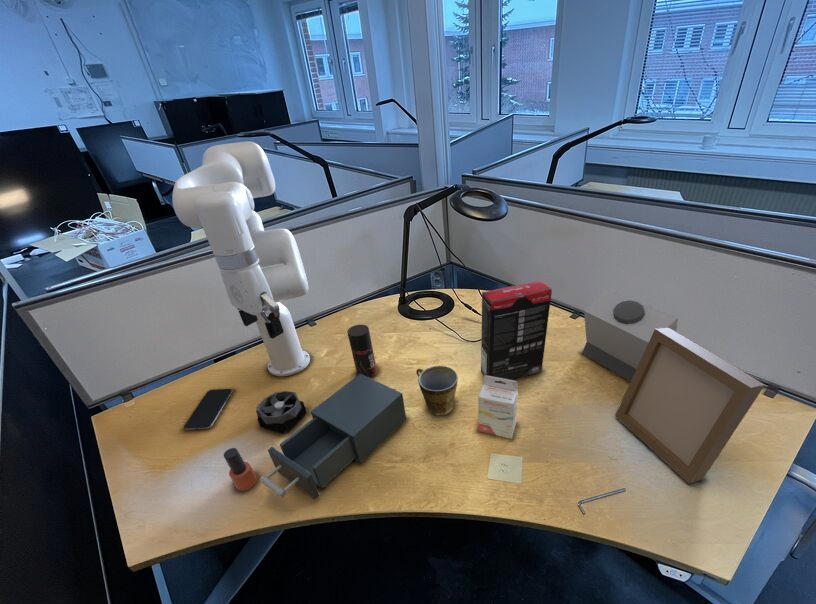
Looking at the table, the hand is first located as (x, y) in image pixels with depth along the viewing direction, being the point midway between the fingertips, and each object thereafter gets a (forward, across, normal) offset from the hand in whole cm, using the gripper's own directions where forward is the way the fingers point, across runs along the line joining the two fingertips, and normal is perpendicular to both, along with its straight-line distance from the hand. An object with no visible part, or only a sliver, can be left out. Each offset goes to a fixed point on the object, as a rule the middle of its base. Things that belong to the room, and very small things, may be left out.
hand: (263, 329), depth 92 cm
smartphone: (+28, -24, -11) cm, 39 cm away
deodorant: (+28, +2, +24) cm, 37 cm away
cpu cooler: (+28, -3, -2) cm, 29 cm away
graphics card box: (+28, +39, +46) cm, 67 cm away
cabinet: (+28, +18, +7) cm, 34 cm away
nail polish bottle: (+28, +6, -19) cm, 35 cm away
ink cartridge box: (+28, +46, +25) cm, 60 cm away
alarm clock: (+28, +64, +67) cm, 97 cm away
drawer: (+27, +17, -9) cm, 34 cm away
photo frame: (+28, +82, +44) cm, 97 cm away
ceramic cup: (+28, +28, +24) cm, 47 cm away
